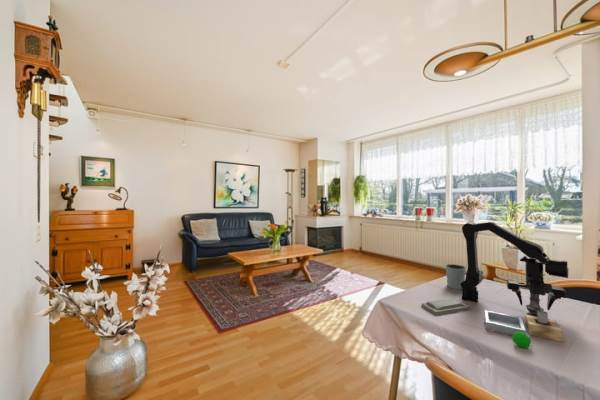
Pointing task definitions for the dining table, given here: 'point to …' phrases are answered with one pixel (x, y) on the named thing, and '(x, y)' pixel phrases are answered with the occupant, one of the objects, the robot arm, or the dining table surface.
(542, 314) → the pin
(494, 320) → the tray
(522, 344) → the green ball
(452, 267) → the grey-blue cylindrical pot
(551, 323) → the square wooden frame
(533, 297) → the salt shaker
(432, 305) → the grey stepped plate
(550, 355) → the dining table surface
